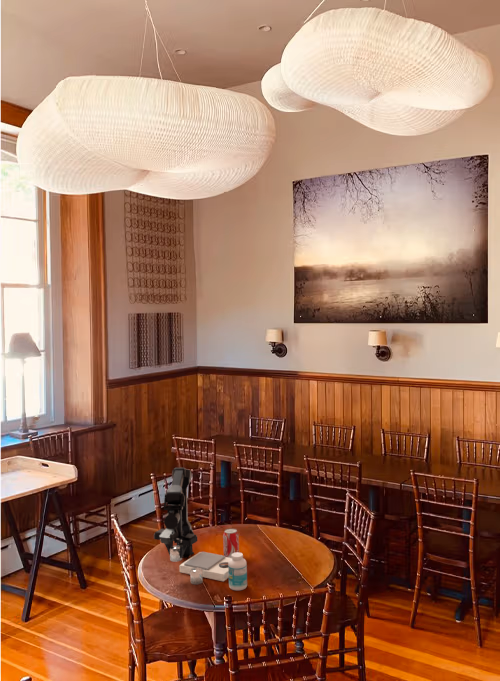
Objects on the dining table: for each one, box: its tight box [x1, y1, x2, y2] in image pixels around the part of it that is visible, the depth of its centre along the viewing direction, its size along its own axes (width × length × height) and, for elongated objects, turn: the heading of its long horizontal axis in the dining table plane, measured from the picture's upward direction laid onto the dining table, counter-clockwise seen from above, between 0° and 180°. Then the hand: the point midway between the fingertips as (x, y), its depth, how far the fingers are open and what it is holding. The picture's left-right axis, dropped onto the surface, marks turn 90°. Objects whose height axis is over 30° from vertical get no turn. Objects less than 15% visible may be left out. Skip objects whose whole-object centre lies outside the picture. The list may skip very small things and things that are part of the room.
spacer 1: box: [169, 544, 183, 563], centre depth 257 cm, size 5×5×5 cm
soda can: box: [222, 528, 240, 558], centre depth 278 cm, size 7×7×12 cm
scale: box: [179, 551, 232, 582], centre depth 265 cm, size 22×16×4 cm
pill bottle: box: [228, 551, 248, 591], centre depth 247 cm, size 8×7×14 cm
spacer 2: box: [189, 568, 204, 586], centre depth 253 cm, size 5×5×5 cm
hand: (176, 556), depth 257 cm, fingers closed on spacer 1, 5 cm apart
